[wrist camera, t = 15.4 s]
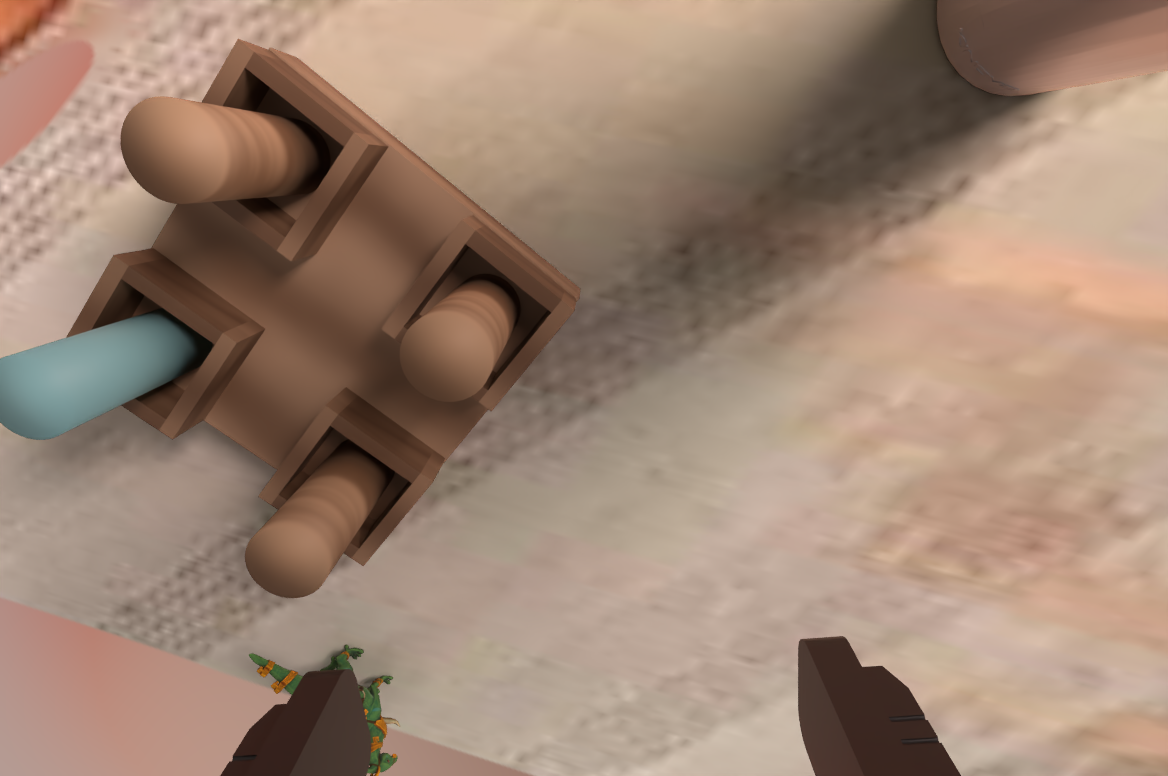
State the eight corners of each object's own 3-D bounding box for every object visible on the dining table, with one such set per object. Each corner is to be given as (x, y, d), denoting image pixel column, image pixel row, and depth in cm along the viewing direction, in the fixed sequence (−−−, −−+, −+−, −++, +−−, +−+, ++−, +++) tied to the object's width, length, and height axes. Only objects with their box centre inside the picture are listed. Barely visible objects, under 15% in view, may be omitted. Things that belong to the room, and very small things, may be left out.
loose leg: (137, 309, 36) (-31, 359, 26) (201, 303, 35) (56, 351, 26) (157, 372, 37) (2, 443, 27) (219, 367, 36) (86, 436, 27)
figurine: (399, 720, 48) (361, 826, 40) (270, 618, 45) (202, 710, 38) (428, 698, 47) (394, 801, 39) (298, 592, 45) (235, 681, 37)
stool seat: (297, 57, 34) (127, -7, 22) (580, 289, 38) (572, 346, 25) (130, 332, 39) (-86, 407, 27) (395, 515, 43) (312, 655, 30)
